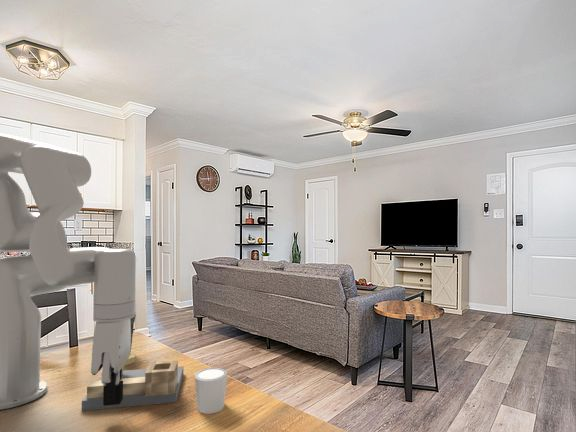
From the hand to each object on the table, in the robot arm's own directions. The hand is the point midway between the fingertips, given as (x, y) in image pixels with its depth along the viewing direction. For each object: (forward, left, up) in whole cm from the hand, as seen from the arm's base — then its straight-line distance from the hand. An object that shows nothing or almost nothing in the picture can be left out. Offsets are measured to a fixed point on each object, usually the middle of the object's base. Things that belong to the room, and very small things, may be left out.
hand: (113, 402), depth 70 cm
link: (+2, +7, -1) cm, 8 cm away
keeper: (-3, +17, -3) cm, 18 cm away
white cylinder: (+19, +1, -4) cm, 19 cm away
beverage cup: (-8, +37, -4) cm, 38 cm away
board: (+2, +12, -3) cm, 13 cm away
